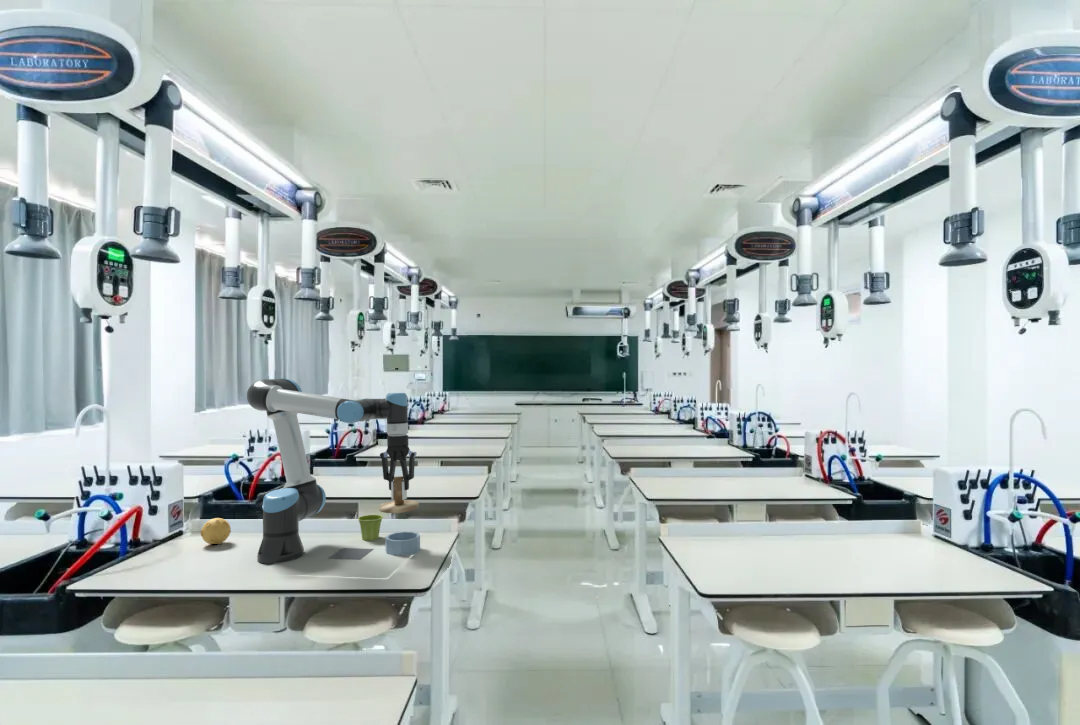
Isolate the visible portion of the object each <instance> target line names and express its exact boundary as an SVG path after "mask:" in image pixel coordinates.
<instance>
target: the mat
mask: <svg viewBox="0 0 1080 725" xmlns="http://www.w3.org/2000/svg"><path fill="white" fill-rule="evenodd" d="M373 550H375V549H374V548H361V547H360V548H357V547H356V548H355V547H354V548H352V547H343V548H341V549H339V550H338V551H337V552H335V553H334V554H332V555H331V556H329V557H327V559H329V560H355V561H356V560H357V561H358V560H359V561H361V560H362V559H363V558H364V557H366V556H367V555H369V553H371V552H373Z"/></svg>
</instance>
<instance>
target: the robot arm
mask: <svg viewBox="0 0 1080 725" xmlns="http://www.w3.org/2000/svg"><path fill="white" fill-rule="evenodd" d="M246 400H247V402H248V404H249V405H250V407H251V408H253V409H255V410H257V411H261V412H263V411H265V413H266V415H267V416H266V417H267V418H268V419H270V420H272V422H273V427H274V431H275V435H276V440H277V445H278V450H279V453H280V457H281V462H282V466H283V471H284V475H285V480H286V482H285V484H284V485H283V488H279V489H275V490H272V491H269V492H268V493H266V494H265V495H264V497H263V500H262V505H261V506H262V508H261V509H262V540H261V543H260V546H259V549H258V552H257V556H256V557H257V558H256V559H257V562H258V563H261V564H264V565H272V564H278V563H286V562H291V561H295V560H297V559H300V558H301V557H303V556H304V555H305V549H304V548H305V546H304V545H303V542H302V539H301V536H300V532H299V530H300V529H299V528H300V527H299V526H300V523H299V522H300V521H303V520H306V519H307V518H311V517H312V518H313V516H315V515H317V514H318V513H320V512H321V511H322V509H323V508H324V506H325V505H326V499H327V498H326V491H325V489H324V488H323V487H322V486H321V485H320V484H318V483H317V479H316V478H315V477H313V476H312V475H311V471H310V467H309V464H308V459H307V455H306V450H305V446H304V441H303V436H302V432H301V428H300V427H301V426H300V424H299V418H298V414H303V415H309V416H314V417H315V416H316V417H321V418H327V419H334V420H338V421H339V420H340V421H341V422H343V423H345V424H354V423H359V422H363V421H369V420H382V419H383V420H386V434H387V436H386V438H387V439H386V441H387V442H386V445H387V447H386V451H384V452H380V453H379V456H380V459H381V464H382V476H383V480H385V481H387V482H388V489H389V491H391V496H390V497H391V501H394V477H395V472H396V465H397V461H399V463H400V468H401V471H402V472H401V473H402V476H403V481H402V500H407V499H408V492H407V491H408V490H409V489H410V480H412V479H414V477H415V464H416V463H415V462H416V461H415V460H416V456H417V451H412V450H410V447H409V435H408V434H409V421H408V418H409V417H408V416H409V415H408V409H409V408H408V406H409V404H408V396H407V394H406V392H390V393H386V395H385V398H360V399H347V398H341V397H334V396H330V395H322V394H315V393H309V392H303V390H302V388H301V386H300V385H299V384H298V383H297V382H295V380H292V379H287V378H270V379H269V378H268V379H263V378H262V379H259V380H256V381H254V382H253V383H252V384H251V385H250V386H249V387H248V389H247V392H246ZM407 456H408V457H409V460H408V464H407ZM388 457H390V460H389V459H388ZM388 461H389V462H388ZM389 463H390V465H389Z"/></svg>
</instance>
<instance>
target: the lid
mask: <svg viewBox="0 0 1080 725" xmlns="http://www.w3.org/2000/svg"><path fill="white" fill-rule="evenodd" d="M403 480H404V479H403V475H402V476H401V475H398V476H394V480H393V481H394V500H391V501H386V502H384V503H380V504H379V507H378V508H379V512H380V513H386V514H402V513H408V512H413V511H416V510H417V509H419V508H420V503H419V501H417V500H411V499H405V500H402V481H403Z"/></svg>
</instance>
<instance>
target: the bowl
mask: <svg viewBox="0 0 1080 725" xmlns="http://www.w3.org/2000/svg"><path fill="white" fill-rule="evenodd" d="M384 540H385V544H384V546H385V547H384V548H385V553H386V554H387V555H391V556H405V555H406V556H407V555H411V556H412V555H416V554H418V553H419V552H420V551H421V535H420V534H419V533H418V532H415V531H399V532H398V531H396V532H392V533H389V534H387V535H386V536H385V537H384Z"/></svg>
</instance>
